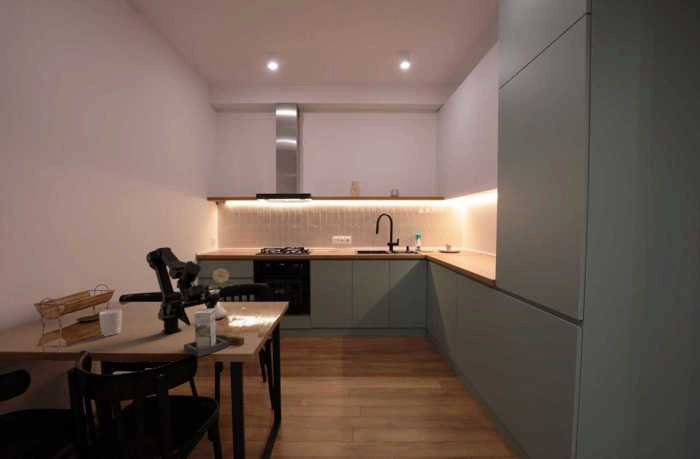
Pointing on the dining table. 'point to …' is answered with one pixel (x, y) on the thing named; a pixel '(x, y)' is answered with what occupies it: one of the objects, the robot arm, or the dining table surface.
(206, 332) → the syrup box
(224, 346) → the keeper frame
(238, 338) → the walnut rail
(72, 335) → the dining table surface
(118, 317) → the white cup
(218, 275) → the flower in vase
